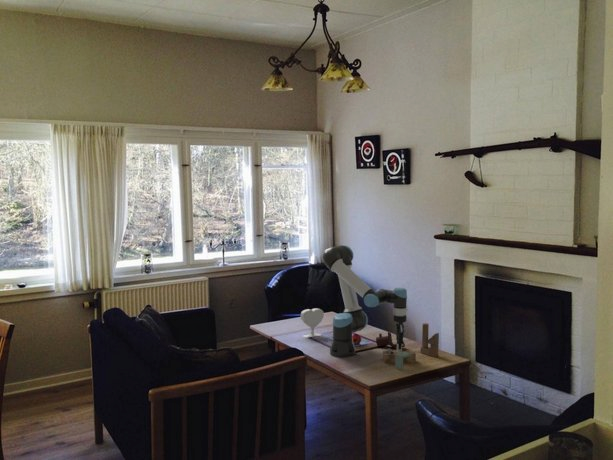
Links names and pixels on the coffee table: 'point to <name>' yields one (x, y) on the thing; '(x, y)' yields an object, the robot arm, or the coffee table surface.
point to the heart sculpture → (312, 319)
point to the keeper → (400, 359)
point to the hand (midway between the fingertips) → (399, 354)
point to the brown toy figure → (386, 341)
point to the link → (391, 357)
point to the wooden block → (429, 342)
